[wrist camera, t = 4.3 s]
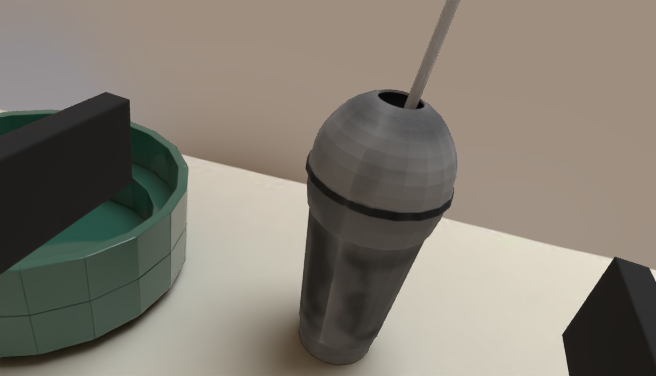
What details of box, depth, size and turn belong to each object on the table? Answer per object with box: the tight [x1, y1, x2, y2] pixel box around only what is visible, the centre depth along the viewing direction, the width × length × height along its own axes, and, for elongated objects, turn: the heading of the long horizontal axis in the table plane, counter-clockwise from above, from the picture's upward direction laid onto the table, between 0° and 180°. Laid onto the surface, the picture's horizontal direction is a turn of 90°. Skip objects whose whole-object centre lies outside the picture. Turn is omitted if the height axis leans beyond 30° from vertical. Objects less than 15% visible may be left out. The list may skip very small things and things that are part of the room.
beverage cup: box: [299, 0, 460, 365], centre depth 23 cm, size 7×7×20 cm
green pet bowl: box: [0, 110, 188, 357], centre depth 28 cm, size 16×16×6 cm
